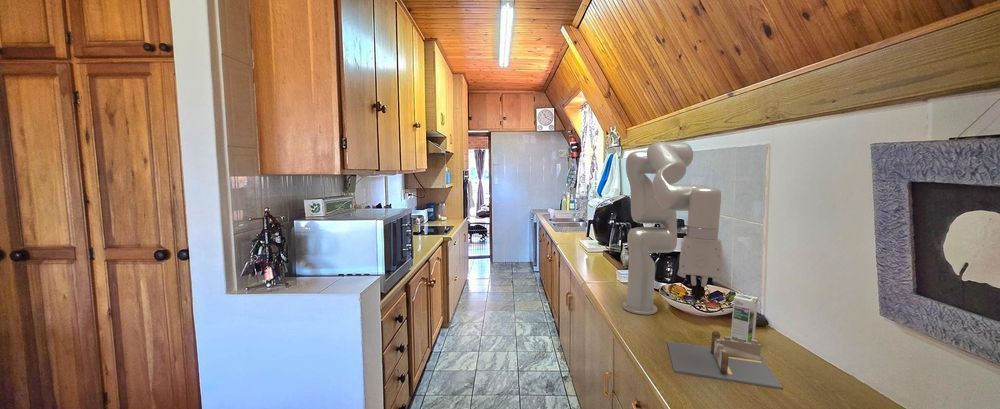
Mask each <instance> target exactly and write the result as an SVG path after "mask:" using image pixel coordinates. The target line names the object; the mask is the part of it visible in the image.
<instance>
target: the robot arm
mask: <svg viewBox="0 0 1000 409" xmlns="http://www.w3.org/2000/svg"><path fill="white" fill-rule="evenodd" d="M691 146H692V145H690V144H689V143H687V142H684V141H658V142H654V143H651V144H650V145H649V146H648V148H647V149H646V150H636V151H633V152H630V153H629V154H628V155H627V158H626V160H625V172H626V177H627V180H628V183H629V188H630V213H631V214H630V216H631V219H632V221H633V222H635V223H638V224H654V225H655V224H659V226H660V227H659V226H656V227H655V226H638V227H634V228H631V229H630V230H629V231H628V233H627V248H628V271H627V273H628V274H627V291H626V300H625V301H623V302H622V308H623V309H624V310H625V311H627V312H629V313H633V314H636V315H642V316H643V315H644V316H645V315H646V316H647V315H654V314H656V313H657V312H658V306H656V305H655V304H654V297H655V279H656V278H655V277H656V263H655V261H654V260H653V258H652V257H651V256H650V254H654V253H655V254H656V253H658V254H661V253H662V254H663V253H664V254H668V253H672V252H674V251H675V250H676V248H677V245H678V223H677V218H678V217H677V212H678V211H680V212H682V211H683V212H687V225H686V226H685V227H681V228H680V233H683V234H686V235H685V236H683V238H682V241H681V242H682V243H681V247H680V252H679V261H678V269H677V270H678V271H677V276H679V277H680V278H683V279H686V280H688V282H689V283H690V284H691V290H690V291H691V294H690V295H691V296H692V297H693V300H694V301H699V302H702V298H704V297H705V287H707V285H709V284H710V283H712V282H721V281H722V271H723V245H722V244H723V243H722V240H721V239H719V226H720V218H721V217H720V216H721V206H722V205H721V204H722V203H721V202H722V191H721V190H720V189H719V188H716V187H709V186H707V185H703V184H676V183H678V182H679V181H681V180H682V179H683V178H684V176H685V175H686V173H687V167H688V166H690V165H691V163H692V162H693V159H694V150H693V149H692V147H691ZM649 174H650V175H654V177H653V180H651V178H649V177H648V175H649ZM697 277H700V281H699V283H698V282H697Z"/></svg>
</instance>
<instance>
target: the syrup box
mask: <svg viewBox="0 0 1000 409" xmlns="http://www.w3.org/2000/svg"><path fill="white" fill-rule="evenodd" d="M758 301H759V298H758V297H757V296H750V295H747V294H743V293H736V295H734V296H733V304H732V316H731V329H730V336H729V337H730V338H731V340H734V341H737V339H738V338H743V339H744V342H750V343H751V339H753V340H755V334H756V324H757V314H758V304H759V303H758Z"/></svg>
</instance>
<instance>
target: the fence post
mask: <svg viewBox="0 0 1000 409" xmlns="http://www.w3.org/2000/svg"><path fill="white" fill-rule="evenodd" d="M730 337H731V336H729V335H724V337H723V338H721V333H720V332H719V331H718V330H713V331H712V332H711V344H710V347H711V354H713V355H714V344H715V341H716V339H720V341H721V344H722V345H723V350H726V353H728V354H729V356H731V357H738V358H745V359H752V360H759V361H760V356H761V351H762V344H761V343H759V341H758V340H757V339H754V340H753V339H751V343H750V342H744V339H743V338H738V339H737V341H734V340H731V338H730Z"/></svg>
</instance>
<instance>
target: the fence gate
mask: <svg viewBox="0 0 1000 409" xmlns="http://www.w3.org/2000/svg"><path fill="white" fill-rule="evenodd" d="M714 355H715V358H716V360H717V362H718V364H719V367H720V369H721V370H720V371H721V372H722V373H725V374H726V373H727V371H728V359H729V354H728V353H726V350H723V345H722V344H721V338H720V339H716V341H715V344H714Z"/></svg>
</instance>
